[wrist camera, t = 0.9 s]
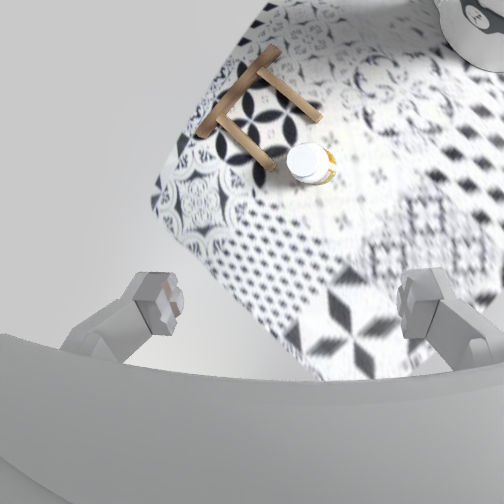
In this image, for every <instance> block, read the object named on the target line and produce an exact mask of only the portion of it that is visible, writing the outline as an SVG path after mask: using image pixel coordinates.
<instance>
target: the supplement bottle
mask: <svg viewBox="0 0 504 504" xmlns="http://www.w3.org/2000/svg"><path fill="white" fill-rule="evenodd" d="M287 166H288V168H289V170H290V172H291V174H292V175H293V177H294V178H296V179H297V180H298V181H300V182H303V183H309V184H317V185H321V184H325V183H328V182H329V181H331V180H332V179H333V178H334V176H335V174H336V171H337V163H336V160H335V158H334V156H333V155H332V154H331V153H330V152H328V151H327V150H325V149H324V148H322V147H321V146H319V145H317V144H315V143H310V142H307V143H302V144H299V145H297V146H295V147H293V148H292V149H291V150H290V151H289V153H288V155H287Z"/></svg>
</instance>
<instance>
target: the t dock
mask: <svg viewBox="0 0 504 504" xmlns="http://www.w3.org/2000/svg"><path fill="white" fill-rule="evenodd" d="M281 53H282V52H281V51H280V50H279V49H278V48H277V47H275V46H274V45H272V44H270V45H269V46H268V47H267V48H266V49H265V50H264V51H263V52H262V53H261V55H260V56H259V57H258V58H257V59H256V60H255V61H254V62H253V63H252V64H251V65H250V66H249V68H248V69H247V70H246V71H245V72H244V73H243V74H242V75H241V77H240V78H239V79H238V80H237V81H236V82H235V83H234V85H233V86H232V87H231V88H230V89H229V90H228V92H227V93H226V94H225V95H224V96H223V97H222V99H221V100H220V101H219V102H218V103H217V105H216V106H215V107H214V108H213V110H212V111H211V112H210V113H209V114H208V116H207V117H206V118H205V120H204V121H203V122H202V123H201V125H200V126H199V127H198V128H197V130H196V131H195V133H196V134H197V135H198V136H199V137H201V138H205V139H206V138H207V137H208V136H209V135H210V133H211V132H212V131H213V130H214V128H215V127H216V126H217V125H218V124H221V125H222V126H223V127H224V128H225V129H226V130H227V131H228V132H229V133H230V134H231V135H232V136H233V137H234V138H235V139H236V140H237V141H238V142H239V143H240V144H241V145H242V146H243V147H244V148H245V149H246V150H247V151H248V152H249V153H250V154H251V155H252V156H253V157H254V158H255V159H256V160H257V161H258V162H259V163H260V164H261V165H262V166H263V167H264V168H265V169H266V170H267V171H269V172H271V171H272V170H273V169H274V168H275V167H276V166H277V164H276V163H275V162H274V161H273V160H272V159H271V158H270V157H269V156H268V155H267V154H266V153H265V152H264V151H263V150H262V149H261V148H260V147H259V146H258V145H257V144H256V143H255V142H254V141H253V140H252V139H251V138H250V137H249V136H247V135H246V134H245V133H244V132H243V131H242V130H241V129H240V128H239V127H238V126H237V125H236V124H235V123H234V122H233V121H232V120H231V119H230V118H229V117H227V116H226V114H227V113H228V111H229V110H230V109H231V108H232V107H233V106H234V104H235V103H236V102H237V101H238V100H239V99H240V97H241V96H242V95H243V94H244V93H245V92H246V91H247V90H248V88H249V87H250V86H251V85H252V84H253V83H254V82H255V81H256V79H257V78H258V77H259V76H261V77H262V78H264V79H265V80H266V81H267V82H269V83H270V84H271V85H272V86H274V87H275V88H276V89H277V90H279V91H280V92H281V93H282V94H283V95H285V96H286V97H287V98H288V99H289V100H290V101H292V102H293V103H294V104H295V105H296V106H297V107H299V108H300V109H301V110H302V111H303V112H304V113H305V114H307V115H308V116H309V117H310V118H311V119H312V120H313V121H314V122H316V123H318V122H319V121H320V120H321V119H322V118H323V116H322V115H321V114H320V113H319V112H318V111H317V110H316V109H315V108H313V107H312V106H311V105H310V104H309V103H308V102H306V101H305V100H304V99H303V98H302V97H301V96H299V95H298V94H297V93H296V92H294V91H293V90H292V89H291V88H290V87H288V86H287V85H286V84H285V83H283V82H282V81H281V80H280V79H278V78H277V77H276V76H274V75H273V74H272V73H271V72H269V71H268V70H267V68H268V66H269V65H270V64H271V63H272V62H273V61H274V60H275V59H276V58H277V57H278V56H279V55H280V54H281Z"/></svg>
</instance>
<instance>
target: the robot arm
mask: <svg viewBox="0 0 504 504" xmlns="http://www.w3.org/2000/svg"><path fill="white" fill-rule="evenodd" d="M434 3H435V5H436V7H437V8H438V10H439V13H440V25H441V29H442V32H443V34H444V36H445V38H446V40H447V41H448V43H449V44H450V45H451V47H452V48H453V49H454V50H455V51H456V52H457V53H458V54H459V55H460V56H461V57H463V58H464V59H465V60H467V61H468V62H470V63H471V64H473V65H475V66H477V67H479V68H481V69H484V70H487V71H491V72H504V0H434ZM400 280H401V283H402V285H401V286H400V287H399V288H398V292H397V311H398V315H400V316H401V317H402V321H401V328H402V333H403V337H404V339H407V338H426V340H427V341H428V342H429V343H430V344H431V345H432V346H433V348H434V349H435V350H436V351H437V352H438V353H439V354H440V356H441V357H442V358H443V359H444V360H445V361H446V363H447V364H448V365H449V366H450V367H451V369H452V370H453V371H452V372H445V373H437V374H429V375H420V376H411V377H400V378H387V379H371V380H349V381H278V380H256V379H240V378H227V377H216V376H205V375H197V374H188V373H180V372H172V371H165V370H158V369H151V368H145V367H139V366H133V365H127V364H122V363H123V362H124V361H125V360H126V359H128V358H129V357H130V356H131V355H132V354H133V353H134V352H135V351H136V350H137V349H138V348H139V347H140V346H142V345H143V344H144V343H145V342H146V341H147V340H148V339H149V338H150V337H151V336H152V335H165V336H172V334H173V332H174V329H175V327H176V324H177V321H176V319H175V318H176V317H178V316H179V315H180V314H181V312H182V310H183V305H184V298H183V293H182V291H181V289H179V288H178V287H177V286H176V284H177V282H178V280H177V277H176V275H175V274H174V273H165V272H138V273H137V274H136V275H135V276H134V278H133V279H132V281H131V283H130V284H129V286H128V287H127V289H126V290H125V292H124V294H123V295H122V297H121V299H119V300H118V299H116V300H115V301H113V302H112V303H110V304H109V305H107V306H106V307H104V308H103V309H101V310H100V311H98V312H97V313H95V314H94V315H92V316H91V317H89V318H88V319H86V320H85V321H83V322H82V323H80V324H79V325H77V326H76V327H74V328H73V329H72V330H71V332H70V333H69V335H68V336H67V338H66V340H65V341H64V343H63V345H62V346H61V348H60V349H55V348H51V347H48V346H43V345H40V344H37V343H33V342H30V341H26V340H23V339H20V338H17V337H14V336H11V335H8V334H0V504H504V332H503V331H502V330H500V329H499V328H498V327H497V326H495V325H494V324H493V323H492V322H490V321H489V320H488V319H487V318H485V317H484V316H483V315H482V314H480V313H479V312H478V311H476V310H475V309H474V308H473V307H471V306H470V305H469V304H467V303H466V302H465V301H463V300H462V299H461V298H459V299H457V297H456V295H455V293H454V290H453V288H452V286H451V284H450V282H449V279H448V277H447V275H446V273H445V271H444V269H443V268H442V267H439V268H429V269H406V270H403V271H402V273H401V278H400Z"/></svg>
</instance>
